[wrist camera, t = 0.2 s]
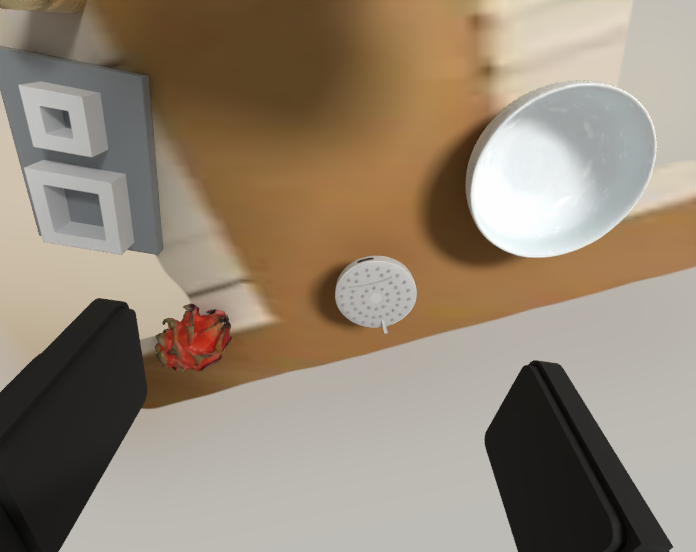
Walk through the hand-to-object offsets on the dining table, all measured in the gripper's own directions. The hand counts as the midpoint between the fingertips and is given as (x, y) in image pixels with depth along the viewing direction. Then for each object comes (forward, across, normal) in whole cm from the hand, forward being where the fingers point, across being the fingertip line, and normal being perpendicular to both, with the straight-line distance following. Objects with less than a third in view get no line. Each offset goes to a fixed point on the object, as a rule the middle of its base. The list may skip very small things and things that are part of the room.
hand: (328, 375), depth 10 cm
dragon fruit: (+37, +16, +31) cm, 51 cm away
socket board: (+36, +28, +10) cm, 47 cm away
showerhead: (+37, -6, +18) cm, 41 cm away
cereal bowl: (+37, -20, +1) cm, 42 cm away
